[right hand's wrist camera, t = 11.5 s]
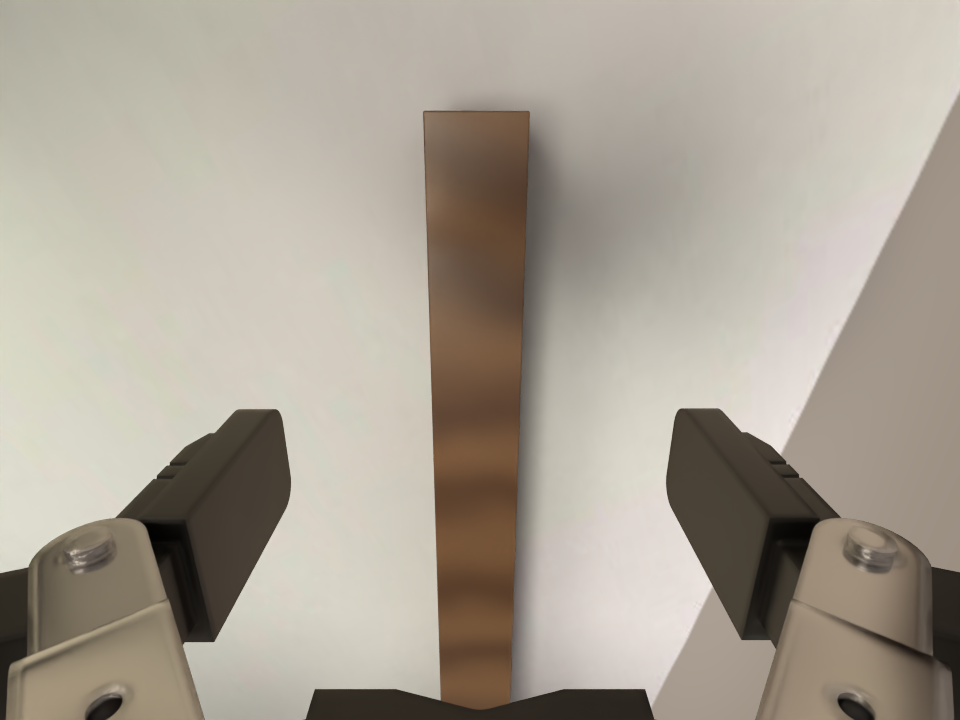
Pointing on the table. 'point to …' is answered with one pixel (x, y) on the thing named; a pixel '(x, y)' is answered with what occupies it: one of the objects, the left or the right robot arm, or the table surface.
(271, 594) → the table surface
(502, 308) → the bar
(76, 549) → the right robot arm
